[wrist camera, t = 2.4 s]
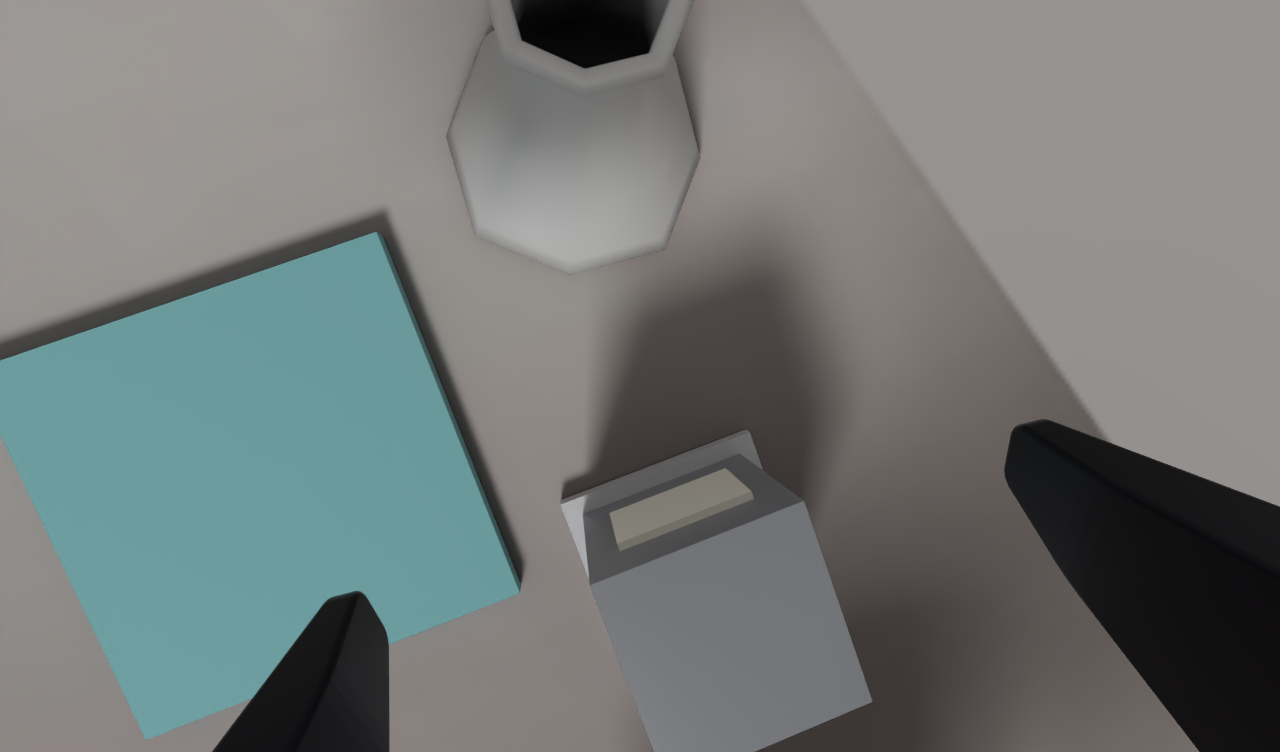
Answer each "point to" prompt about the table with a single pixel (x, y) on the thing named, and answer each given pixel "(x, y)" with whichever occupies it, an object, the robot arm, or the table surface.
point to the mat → (251, 476)
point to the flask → (576, 130)
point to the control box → (716, 601)
